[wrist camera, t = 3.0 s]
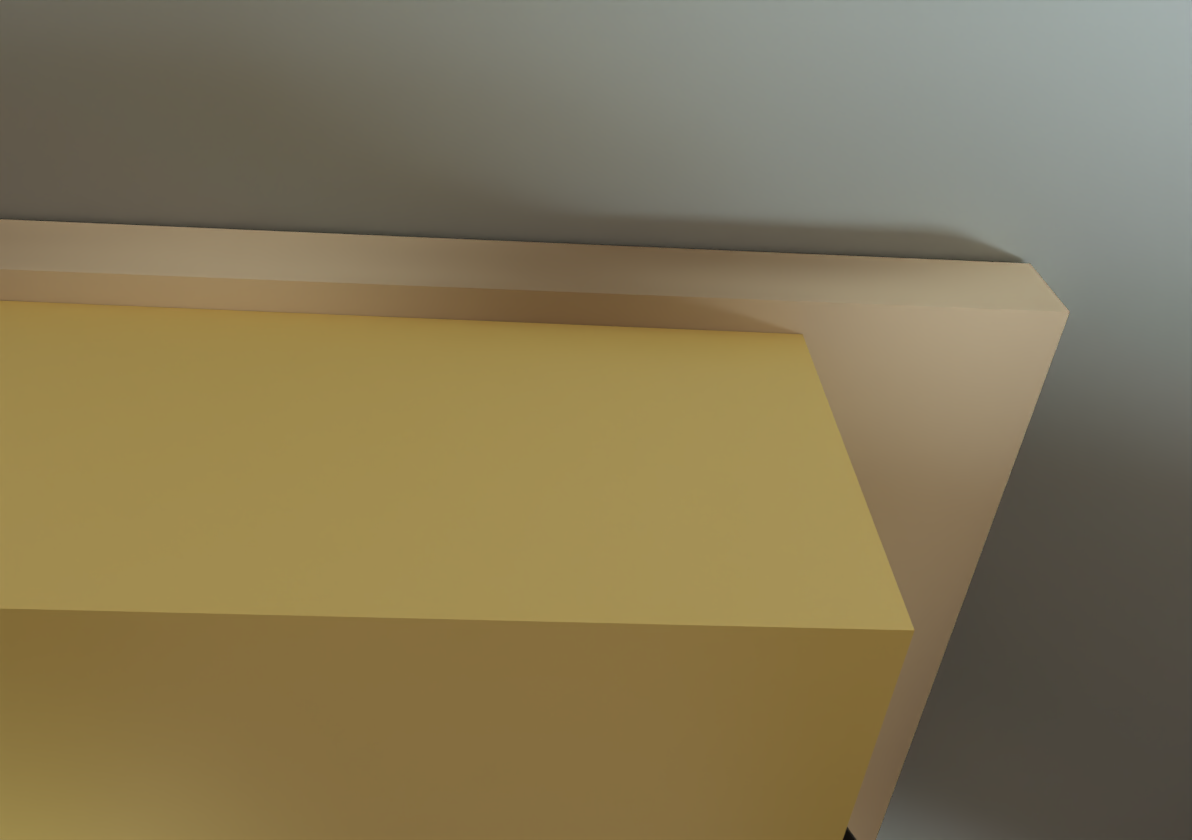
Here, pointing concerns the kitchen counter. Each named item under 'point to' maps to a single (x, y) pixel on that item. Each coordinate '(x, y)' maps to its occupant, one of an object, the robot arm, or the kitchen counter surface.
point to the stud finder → (428, 581)
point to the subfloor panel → (674, 301)
